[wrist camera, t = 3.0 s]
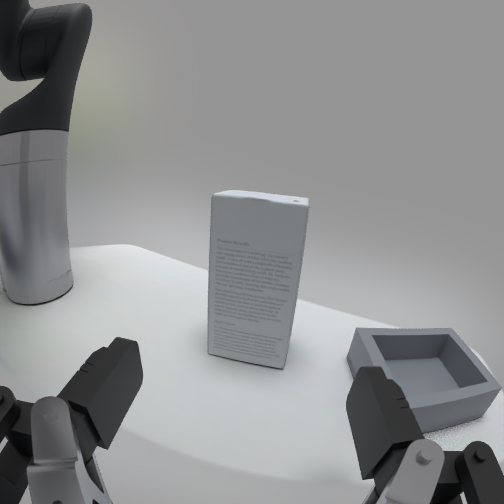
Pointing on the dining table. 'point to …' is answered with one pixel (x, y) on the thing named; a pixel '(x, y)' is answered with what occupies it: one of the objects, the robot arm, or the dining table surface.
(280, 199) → the skincare box
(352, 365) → the gray tray
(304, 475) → the dining table surface
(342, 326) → the dining table surface
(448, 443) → the dining table surface
